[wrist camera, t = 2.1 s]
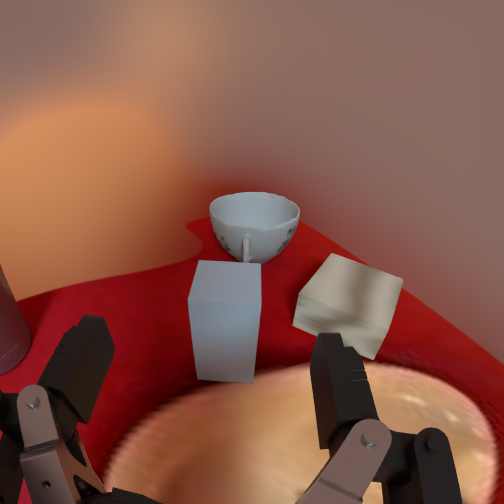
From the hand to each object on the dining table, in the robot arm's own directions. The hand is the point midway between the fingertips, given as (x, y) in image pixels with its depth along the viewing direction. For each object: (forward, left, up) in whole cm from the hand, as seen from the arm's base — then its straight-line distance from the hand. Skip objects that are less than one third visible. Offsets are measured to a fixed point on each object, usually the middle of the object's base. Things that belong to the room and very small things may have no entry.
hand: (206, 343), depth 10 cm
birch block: (+3, +23, -16) cm, 28 cm away
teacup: (-13, +27, -16) cm, 34 cm away
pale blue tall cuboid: (-6, +10, -16) cm, 19 cm away
